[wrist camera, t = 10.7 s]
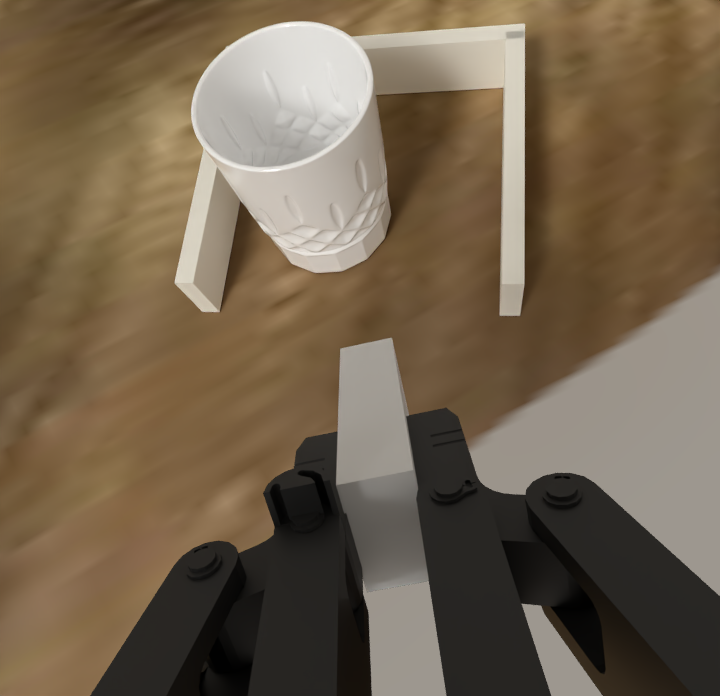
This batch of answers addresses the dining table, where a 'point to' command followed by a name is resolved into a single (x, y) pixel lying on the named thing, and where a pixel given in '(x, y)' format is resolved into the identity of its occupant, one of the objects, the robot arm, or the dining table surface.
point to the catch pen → (391, 76)
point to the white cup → (299, 140)
